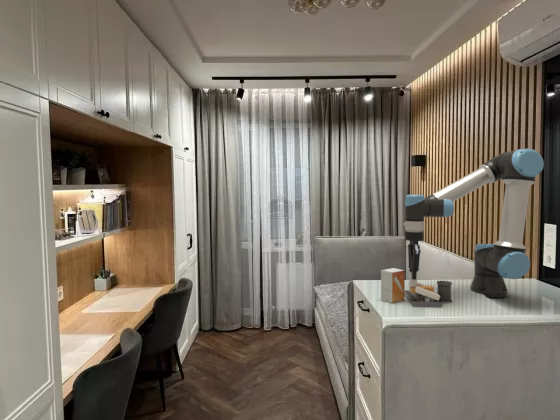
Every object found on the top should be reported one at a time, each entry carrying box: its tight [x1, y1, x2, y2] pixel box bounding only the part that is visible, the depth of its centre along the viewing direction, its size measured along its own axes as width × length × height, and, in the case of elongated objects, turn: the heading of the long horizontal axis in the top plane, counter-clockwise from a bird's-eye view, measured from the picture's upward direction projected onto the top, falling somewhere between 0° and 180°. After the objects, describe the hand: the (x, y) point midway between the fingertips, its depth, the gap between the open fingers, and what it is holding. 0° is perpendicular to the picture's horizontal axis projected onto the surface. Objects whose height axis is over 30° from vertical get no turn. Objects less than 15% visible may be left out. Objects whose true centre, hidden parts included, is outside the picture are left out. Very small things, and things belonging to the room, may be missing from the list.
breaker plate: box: [404, 289, 443, 308], centre depth 159 cm, size 11×18×4 cm, turn 173°
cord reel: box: [436, 280, 453, 304], centre depth 158 cm, size 6×6×8 cm
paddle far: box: [408, 281, 428, 286], centre depth 165 cm, size 9×3×2 cm, turn 82°
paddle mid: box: [409, 284, 435, 293], centre depth 159 cm, size 9×3×2 cm, turn 83°
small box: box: [380, 267, 406, 304], centre depth 160 cm, size 8×6×13 cm
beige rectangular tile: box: [415, 286, 440, 301], centre depth 153 cm, size 9×3×2 cm, turn 83°
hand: (413, 286), depth 159 cm, fingers closed, pressing on paddle mid
